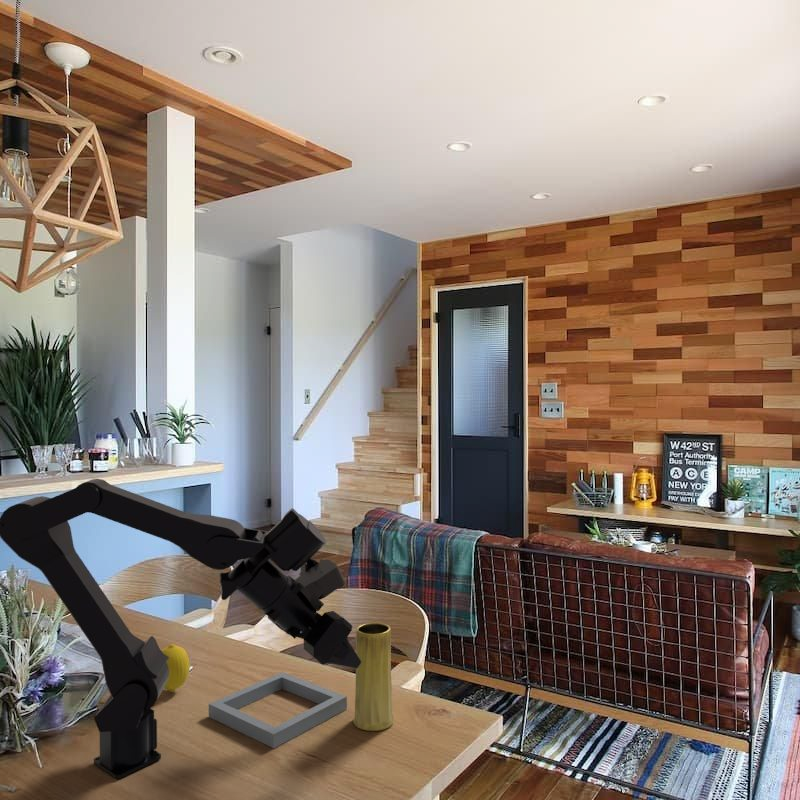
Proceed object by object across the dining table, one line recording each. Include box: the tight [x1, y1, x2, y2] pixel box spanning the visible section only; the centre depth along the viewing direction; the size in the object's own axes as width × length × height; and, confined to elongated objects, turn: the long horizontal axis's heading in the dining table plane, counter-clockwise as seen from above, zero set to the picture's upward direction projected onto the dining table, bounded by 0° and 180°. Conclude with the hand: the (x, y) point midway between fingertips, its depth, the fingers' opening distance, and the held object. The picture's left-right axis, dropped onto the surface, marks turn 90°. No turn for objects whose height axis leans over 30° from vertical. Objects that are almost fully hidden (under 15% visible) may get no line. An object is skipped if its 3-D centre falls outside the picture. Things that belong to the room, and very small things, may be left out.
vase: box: [353, 622, 395, 732], centre depth 103 cm, size 6×6×14 cm
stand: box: [208, 671, 348, 749], centre depth 106 cm, size 15×15×2 cm
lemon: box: [161, 643, 191, 693], centre depth 114 cm, size 6×6×8 cm
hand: (344, 654), depth 101 cm, fingers open, 9 cm apart
